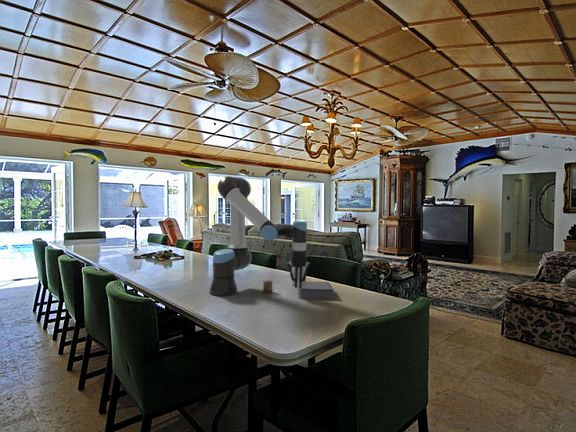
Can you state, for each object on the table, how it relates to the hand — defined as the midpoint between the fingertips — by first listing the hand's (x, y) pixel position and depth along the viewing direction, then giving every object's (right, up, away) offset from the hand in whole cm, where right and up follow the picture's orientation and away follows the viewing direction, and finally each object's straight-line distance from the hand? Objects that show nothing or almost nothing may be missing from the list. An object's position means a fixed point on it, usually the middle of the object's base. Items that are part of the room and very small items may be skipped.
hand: (297, 293), depth 184 cm
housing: (+10, -2, +6) cm, 11 cm away
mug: (0, -1, +28) cm, 28 cm away
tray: (+10, -2, +6) cm, 11 cm away
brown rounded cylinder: (-17, -1, +9) cm, 19 cm away
